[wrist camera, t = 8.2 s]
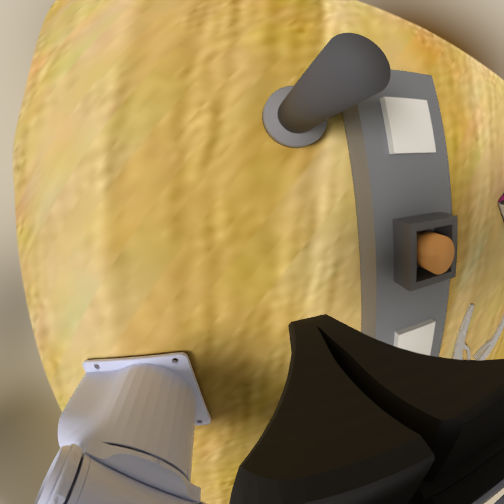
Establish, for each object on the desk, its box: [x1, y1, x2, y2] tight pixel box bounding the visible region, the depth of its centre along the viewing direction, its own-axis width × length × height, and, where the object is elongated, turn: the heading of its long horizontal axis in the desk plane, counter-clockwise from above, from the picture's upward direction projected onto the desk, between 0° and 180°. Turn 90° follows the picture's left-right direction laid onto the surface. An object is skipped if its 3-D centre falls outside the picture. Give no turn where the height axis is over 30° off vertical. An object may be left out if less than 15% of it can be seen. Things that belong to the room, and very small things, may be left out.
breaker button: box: [417, 230, 455, 275], centre depth 16 cm, size 2×2×2 cm
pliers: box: [452, 304, 504, 360], centre depth 24 cm, size 10×2×15 cm
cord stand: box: [262, 33, 391, 148], centre depth 12 cm, size 4×4×10 cm
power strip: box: [342, 70, 457, 357], centre depth 17 cm, size 7×24×4 cm, turn 9°
